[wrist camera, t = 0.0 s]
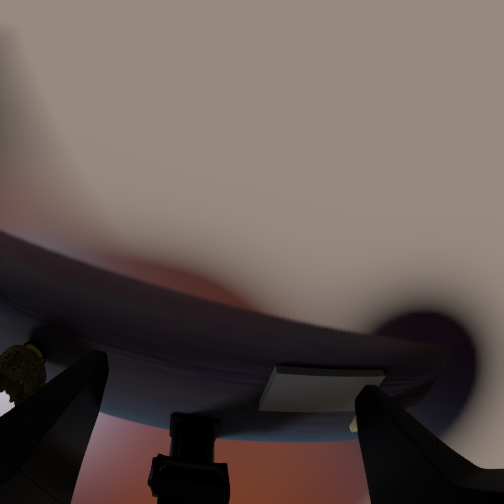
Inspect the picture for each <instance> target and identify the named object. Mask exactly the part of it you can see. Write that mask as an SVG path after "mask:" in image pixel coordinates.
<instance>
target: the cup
mask: <svg viewBox="0 0 504 504" xmlns="http://www.w3.org/2000/svg"><path fill="white" fill-rule="evenodd" d="M45 362H46V355H45V352H44V351H43V349H42V348H41V347H40V346H39V345H38V344H36V343H34V342H32V341H28V342H26V343H24V345H23V346H22V345H14V346H11V347H10V348H8V349H7V350H6V351H4V352H3V353H2V354H1V355H0V392H3V391H4V390H5V392H6V393H7V394H9V395H10V400H9V401H10V402H14V403H15V406H16V405H18V404H19V403H22V401H23V400H25V399H26V398H27V397H29V396H30V395H31V394H33V393H34V392H35V391H37V390H38V389H40V388H41V387H42V386H44V385H45V383H46V370H45V366H44V364H45Z"/></svg>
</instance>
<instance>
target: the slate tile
mask: <svg viewBox="0 0 504 504" xmlns="http://www.w3.org/2000/svg"><path fill="white" fill-rule="evenodd" d="M385 377H386V376H385V374H384V372H383V370H346V369H320V368H303V367H290V366H279V365H275V367H274V370H273V372H272V374H271V376H270V379H269V381H268V383H267V385H266V388H265V390H264V392H263V394H262V396H261V399H260V401H259V410H260V411H277V412H342V411H355V398H356V397H357V395H358V394H359V393H360V391H361V390H362V389H363V387H364V386H365V385H370V384H374V385H377V386H379V385H380V384H381V382H382V381H383V379H384V378H385Z"/></svg>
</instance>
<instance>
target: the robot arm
mask: <svg viewBox="0 0 504 504" xmlns="http://www.w3.org/2000/svg"><path fill="white" fill-rule="evenodd" d="M108 373H109V366H108V359H107V353H106V352H105V351H102V350H98V349H93V350H92V351H90V352H89V353H88V354H86V355H85V356H83V357H82V358H81V359H79V360H78V361H77V362H75V363H74V364H72V365H71V366H70V367H68V368H67V369H65V370H64V371H63V372H61V373H60V374H59V375H57V376H56V377H55V378H53V379H52V380H50V381H49V382H48V383H46V384H45V385H44V386H42V387H41V388H40V389H38V390H37V391H35V392H34V393H33V394H31V395H30V396H29V397H27V398H26V399H25V400H23V401H22V403H19V404H18V405H16V406H15V407H14V408H12V409H11V410H10V411H8V412H7V413H5V414H4V415H3V416H1V417H0V504H71V500H72V496H73V492H74V488H75V485H76V481H77V478H78V474H79V471H80V468H81V464H82V461H83V458H84V455H85V451H86V449H87V446H88V443H89V439H90V437H91V433H92V431H93V428H94V425H95V422H96V419H97V417H98V414H99V410H100V406H101V402H102V397H103V393H104V389H105V385H106V381H107V378H108ZM355 412H356V421H357V430H358V438H359V443H360V447H361V452H362V457H363V462H364V467H365V473H366V478H367V483H368V489H369V495H370V501H371V504H504V469H483V468H480V467H478V466H476V465H474V464H473V463H471V462H470V461H468V460H467V459H465V458H464V457H462V456H461V455H460V454H458V453H457V452H455V451H454V450H452V449H451V448H450V447H448V446H447V445H446V444H445V443H443V442H442V441H441V440H440V439H439V438H437V437H436V436H435V435H434V434H433V433H431V432H430V431H429V430H428V429H427V428H426V427H424V426H423V425H422V424H421V423H420V422H419V421H417V420H416V419H415V418H414V417H413V416H411V415H410V414H409V413H408V412H407V411H406V410H405V409H403V408H402V407H401V406H400V405H399V404H398V403H396V402H395V401H394V400H393V399H392V398H391V397H389V396H388V395H387V394H386V393H385V392H384V391H383V390H381V389H380V388H379V387H378V386H377V385H374V384H370V385H365V386H364V387H363V389H362V390H361V391H360V393H359V394H358V395H357V397H356V398H355ZM220 425H221V422H220V421H219V420H212V419H205V418H198V417H191V416H185V415H180V414H171V418H170V436H171V437H172V438H171V445H170V453H169V456H165V455H162V454H158V456H157V457H153V460H152V466H151V471H150V474H149V478H148V485H149V487H150V488H151V491H152V496H153V497H158V498H157V504H228V503H229V499H230V483H229V475H228V467H227V463H214V442H215V439H216V437H217V434H218V431H219V428H220Z"/></svg>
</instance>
